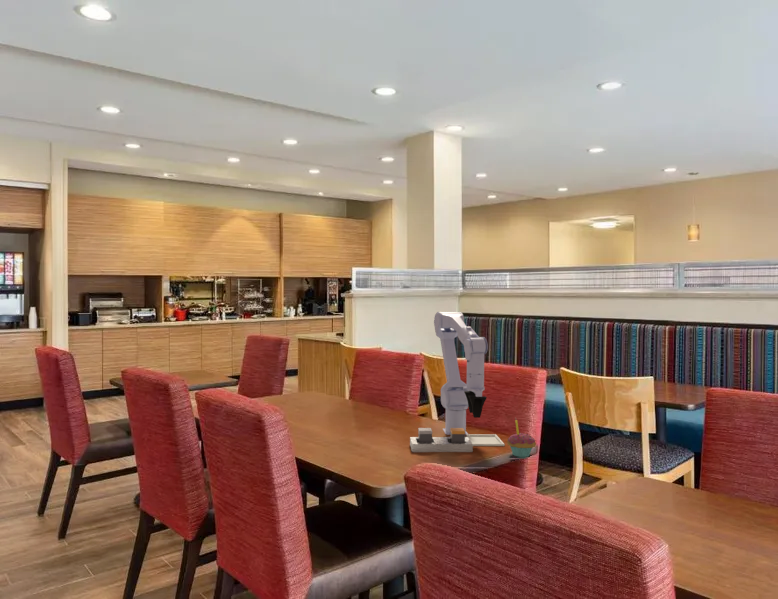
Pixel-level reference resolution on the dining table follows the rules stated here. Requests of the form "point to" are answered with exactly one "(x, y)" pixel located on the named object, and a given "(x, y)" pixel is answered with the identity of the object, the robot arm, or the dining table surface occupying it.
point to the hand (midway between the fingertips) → (474, 414)
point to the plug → (457, 435)
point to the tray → (485, 440)
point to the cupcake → (521, 443)
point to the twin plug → (424, 435)
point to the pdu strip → (440, 445)
